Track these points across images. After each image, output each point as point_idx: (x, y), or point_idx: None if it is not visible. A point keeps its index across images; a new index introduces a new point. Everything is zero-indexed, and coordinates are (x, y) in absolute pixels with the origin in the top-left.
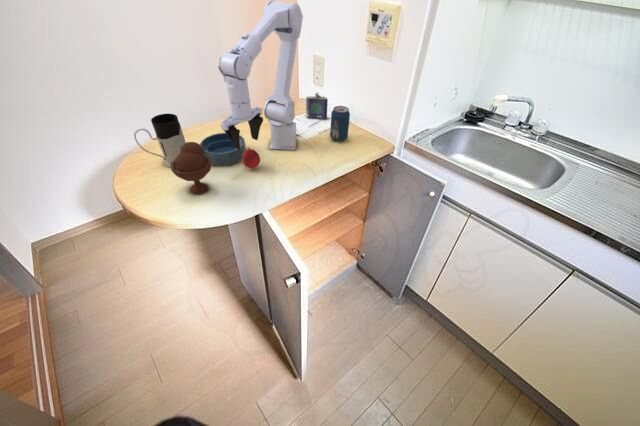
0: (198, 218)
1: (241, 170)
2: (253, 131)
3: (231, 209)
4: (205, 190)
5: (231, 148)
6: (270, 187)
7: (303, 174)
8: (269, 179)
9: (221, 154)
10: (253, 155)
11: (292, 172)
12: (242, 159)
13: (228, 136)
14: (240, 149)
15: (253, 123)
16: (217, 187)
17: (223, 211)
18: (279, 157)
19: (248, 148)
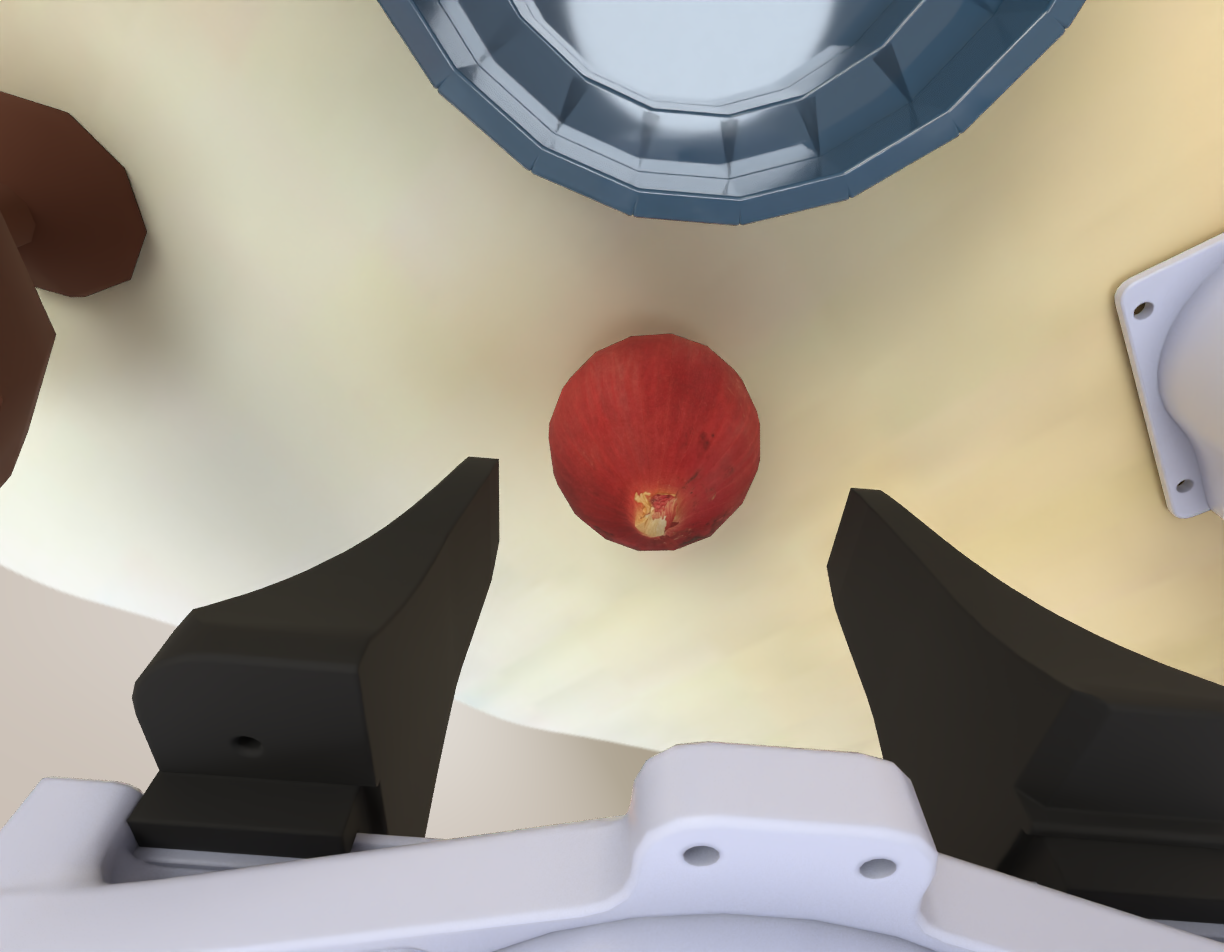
0: None
1: (563, 315)
2: (886, 612)
3: (171, 588)
4: (78, 295)
5: None
6: (529, 641)
7: (799, 719)
8: (605, 587)
9: (448, 100)
10: (633, 546)
11: (784, 659)
12: (558, 414)
13: (358, 545)
14: (741, 220)
15: (941, 769)
16: (214, 327)
17: (114, 563)
18: (969, 468)
19: (640, 529)
